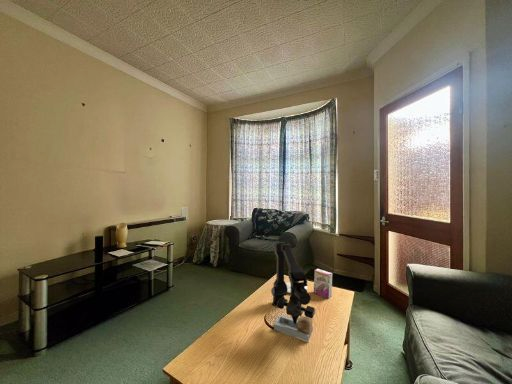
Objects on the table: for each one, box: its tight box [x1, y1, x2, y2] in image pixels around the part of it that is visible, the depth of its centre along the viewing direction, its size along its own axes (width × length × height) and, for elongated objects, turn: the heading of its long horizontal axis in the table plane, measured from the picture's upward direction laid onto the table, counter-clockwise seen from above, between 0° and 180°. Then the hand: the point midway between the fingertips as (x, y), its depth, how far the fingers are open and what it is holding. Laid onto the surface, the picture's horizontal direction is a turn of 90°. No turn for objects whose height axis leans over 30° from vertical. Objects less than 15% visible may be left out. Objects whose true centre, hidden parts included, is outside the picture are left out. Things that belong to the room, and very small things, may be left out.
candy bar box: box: [313, 268, 333, 299], centre depth 148 cm, size 11×5×16 cm, turn 47°
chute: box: [273, 315, 314, 343], centre depth 111 cm, size 18×9×3 cm, turn 62°
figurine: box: [285, 281, 309, 293], centre depth 155 cm, size 20×18×16 cm
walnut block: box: [297, 315, 313, 340], centre depth 108 cm, size 6×5×7 cm
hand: (295, 323), depth 110 cm, fingers closed
